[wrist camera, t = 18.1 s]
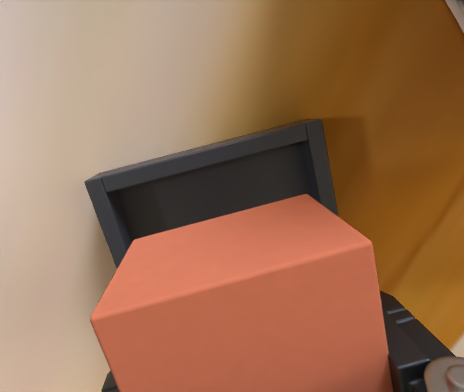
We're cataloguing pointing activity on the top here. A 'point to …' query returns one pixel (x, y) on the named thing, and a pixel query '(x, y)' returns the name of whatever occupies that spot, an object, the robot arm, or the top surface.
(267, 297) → the terracotta pad
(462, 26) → the skincare box
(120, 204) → the frame
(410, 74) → the top surface
